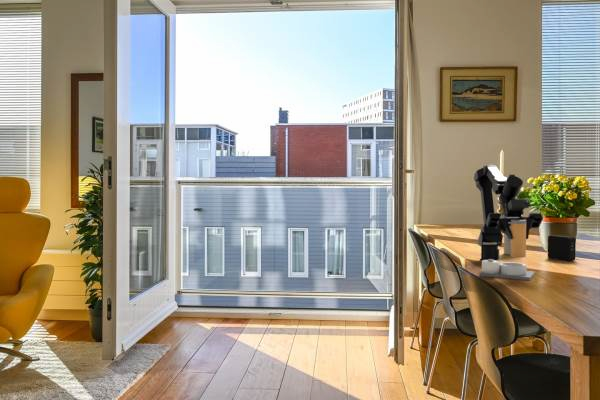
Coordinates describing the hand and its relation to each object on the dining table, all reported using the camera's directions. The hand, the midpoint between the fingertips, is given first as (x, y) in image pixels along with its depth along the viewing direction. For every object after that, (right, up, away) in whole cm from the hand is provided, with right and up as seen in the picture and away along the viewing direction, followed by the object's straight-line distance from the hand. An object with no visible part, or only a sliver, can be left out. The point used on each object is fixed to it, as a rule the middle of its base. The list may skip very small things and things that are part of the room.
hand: (519, 238), depth 178 cm
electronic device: (+33, -12, +36) cm, 50 cm away
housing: (-3, -13, +3) cm, 14 cm away
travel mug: (+19, -11, +51) cm, 56 cm away
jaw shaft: (0, -7, +2) cm, 7 cm away
